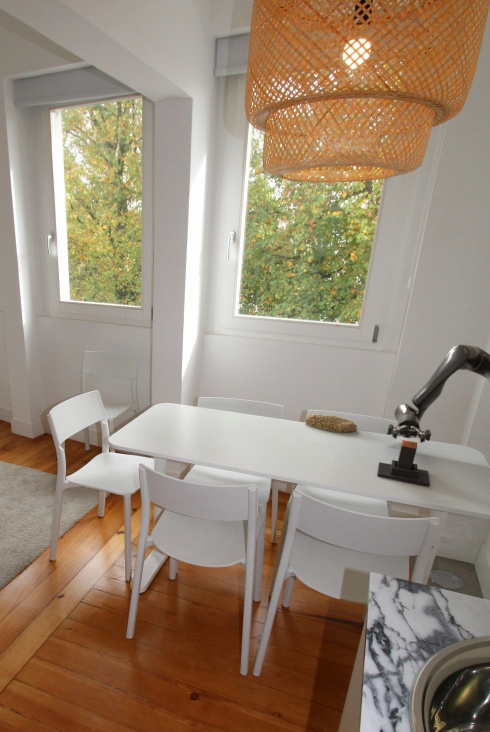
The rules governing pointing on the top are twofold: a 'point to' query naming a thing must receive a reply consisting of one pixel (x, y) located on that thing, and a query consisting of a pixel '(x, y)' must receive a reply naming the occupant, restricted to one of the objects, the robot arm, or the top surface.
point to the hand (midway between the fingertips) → (408, 438)
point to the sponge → (331, 423)
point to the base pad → (403, 473)
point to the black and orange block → (407, 455)
